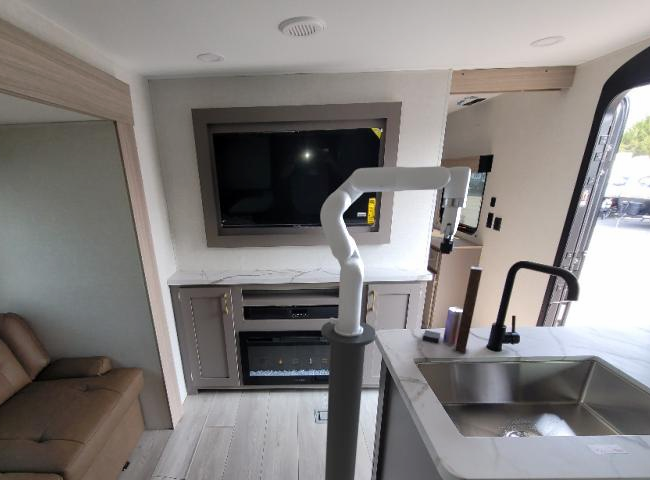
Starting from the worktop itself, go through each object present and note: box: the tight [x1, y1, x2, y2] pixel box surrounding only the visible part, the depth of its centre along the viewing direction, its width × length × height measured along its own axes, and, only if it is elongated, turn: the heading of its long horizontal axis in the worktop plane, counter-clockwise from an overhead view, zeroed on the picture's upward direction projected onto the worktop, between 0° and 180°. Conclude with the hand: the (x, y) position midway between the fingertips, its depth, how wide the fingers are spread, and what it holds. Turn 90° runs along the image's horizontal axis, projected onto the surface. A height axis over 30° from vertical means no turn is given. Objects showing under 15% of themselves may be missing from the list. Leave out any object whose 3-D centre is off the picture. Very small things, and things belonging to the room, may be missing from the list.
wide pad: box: [422, 329, 441, 344], centre depth 138 cm, size 6×6×2 cm
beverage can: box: [442, 306, 463, 346], centre depth 133 cm, size 6×6×15 cm
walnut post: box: [454, 265, 484, 354], centre depth 124 cm, size 4×4×34 cm
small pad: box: [439, 240, 455, 253], centre depth 124 cm, size 4×4×3 cm
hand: (446, 251), depth 125 cm, fingers closed on small pad, 4 cm apart
